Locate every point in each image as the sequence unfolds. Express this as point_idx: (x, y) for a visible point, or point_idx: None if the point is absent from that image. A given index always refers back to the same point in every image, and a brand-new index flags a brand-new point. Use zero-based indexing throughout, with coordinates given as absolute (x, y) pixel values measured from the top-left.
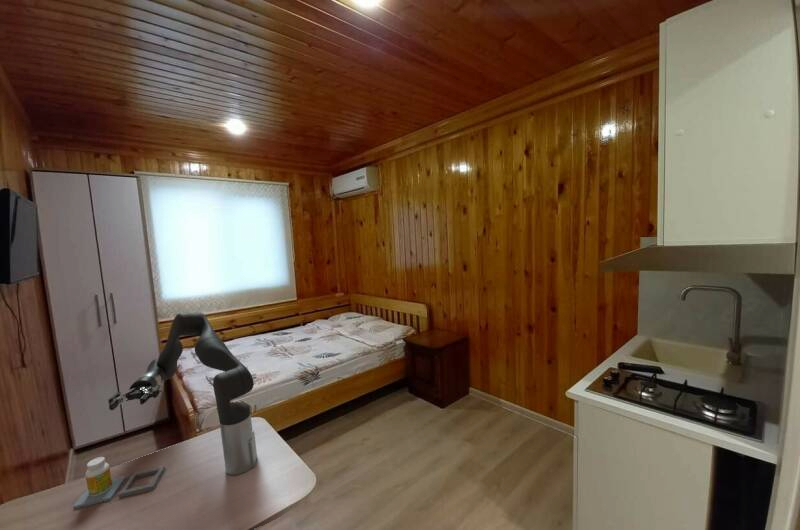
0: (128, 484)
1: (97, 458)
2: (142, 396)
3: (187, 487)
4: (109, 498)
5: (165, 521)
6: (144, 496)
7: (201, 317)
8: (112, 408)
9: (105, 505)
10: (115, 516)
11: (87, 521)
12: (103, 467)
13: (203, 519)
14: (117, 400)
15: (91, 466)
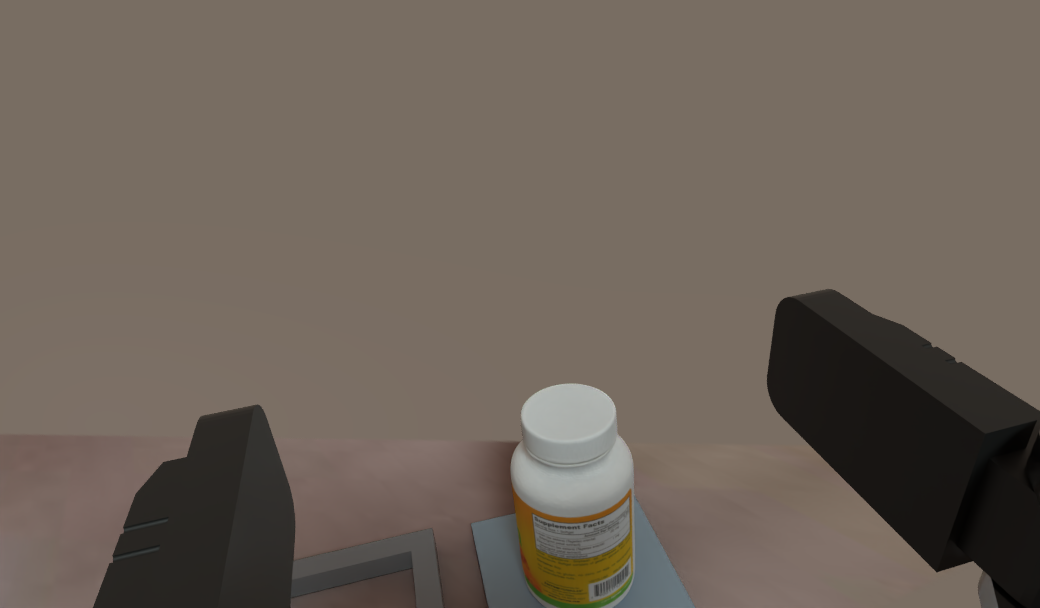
0: (419, 587)
1: (582, 427)
2: (226, 498)
3: (78, 586)
4: (477, 525)
5: (172, 442)
6: (300, 545)
7: None
8: (773, 364)
9: (476, 508)
10: (385, 462)
11: (492, 447)
12: (523, 450)
13: (35, 445)
14: (971, 455)
15: (557, 387)
